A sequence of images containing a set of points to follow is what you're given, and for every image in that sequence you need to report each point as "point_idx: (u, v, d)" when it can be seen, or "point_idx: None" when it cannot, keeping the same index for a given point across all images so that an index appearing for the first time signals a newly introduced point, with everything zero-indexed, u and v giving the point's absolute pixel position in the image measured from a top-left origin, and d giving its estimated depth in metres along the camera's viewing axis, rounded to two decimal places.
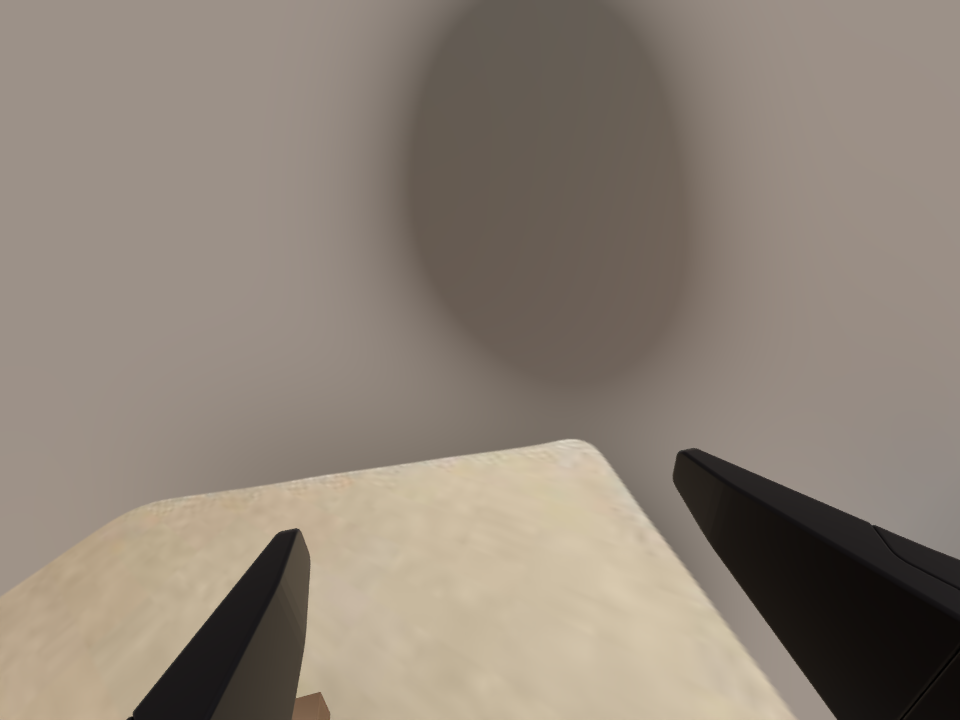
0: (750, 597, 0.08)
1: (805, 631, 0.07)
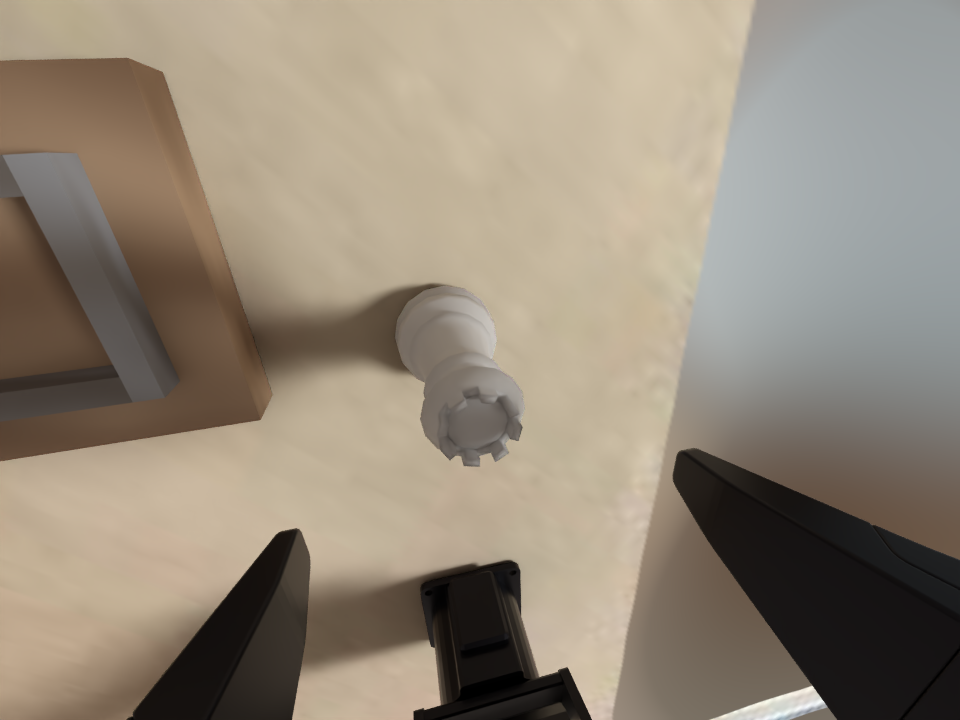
0: (750, 597, 0.08)
1: (805, 631, 0.07)
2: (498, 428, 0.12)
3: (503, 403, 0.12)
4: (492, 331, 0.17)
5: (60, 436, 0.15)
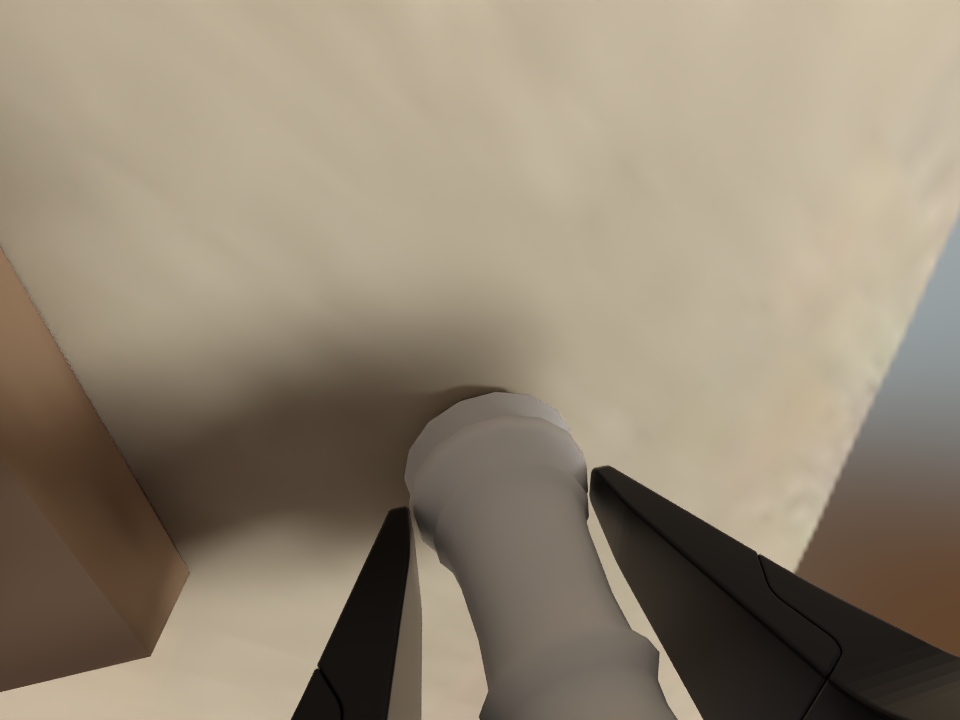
0: (651, 624, 0.08)
1: (695, 664, 0.07)
2: None
3: None
4: (585, 477, 0.09)
5: None
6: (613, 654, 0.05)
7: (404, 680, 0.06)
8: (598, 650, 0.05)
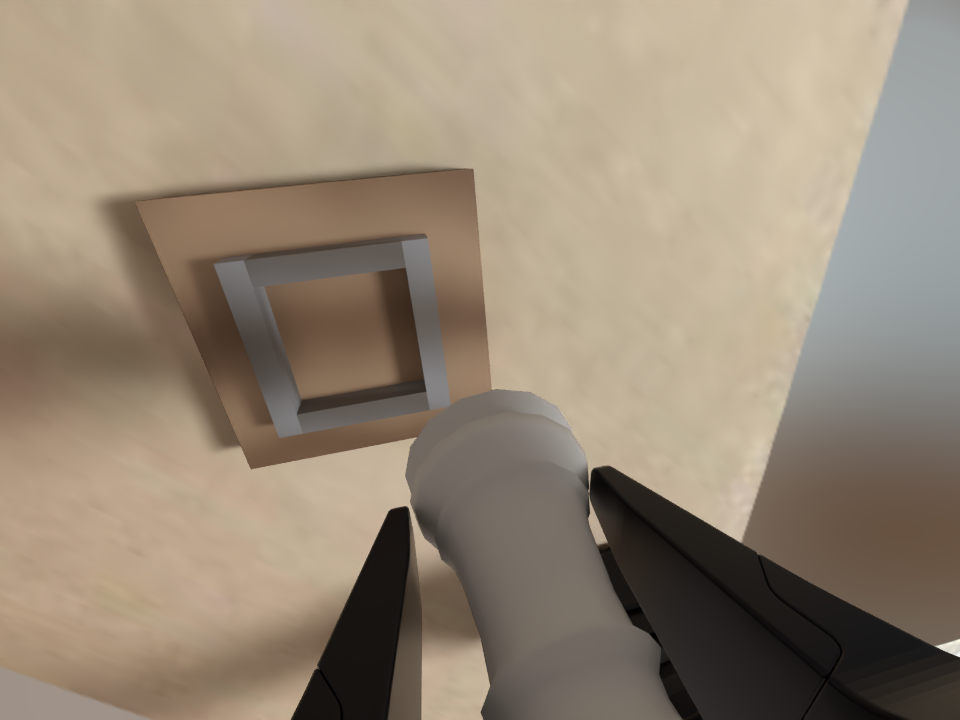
0: (651, 624, 0.08)
1: (695, 664, 0.07)
2: None
3: None
4: (585, 475, 0.09)
5: (358, 437, 0.20)
6: (615, 649, 0.05)
7: (404, 680, 0.06)
8: (600, 645, 0.05)
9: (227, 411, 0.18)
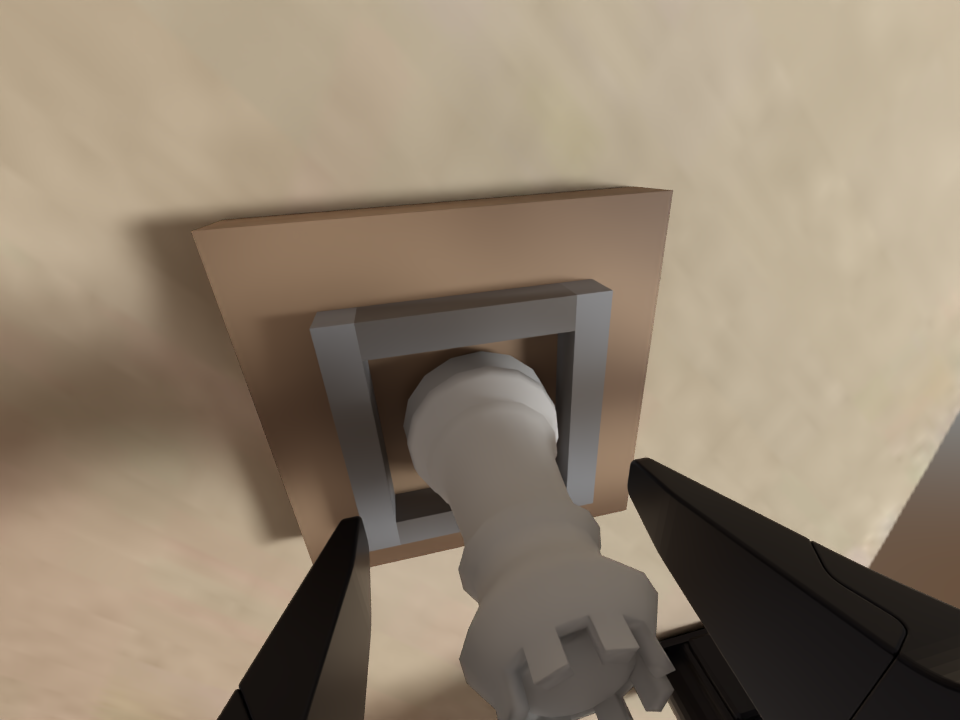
0: (696, 612, 0.08)
1: (745, 649, 0.07)
2: (618, 683, 0.06)
3: (639, 646, 0.06)
4: (554, 423, 0.11)
5: (459, 534, 0.15)
6: (559, 514, 0.07)
7: (333, 699, 0.06)
8: (548, 510, 0.07)
9: (295, 511, 0.13)
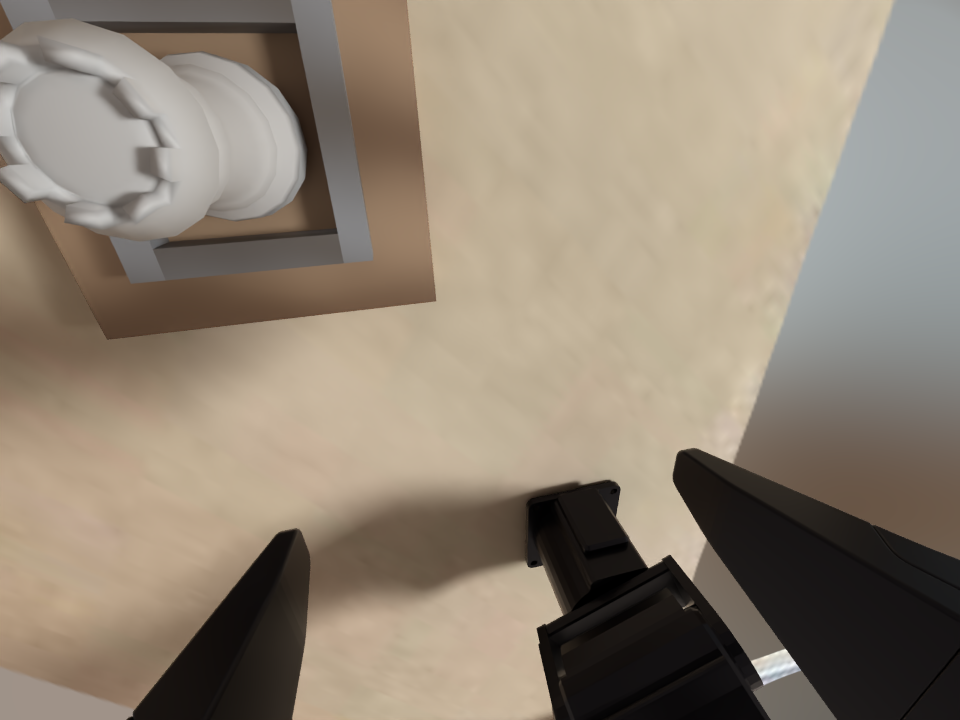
0: (750, 597, 0.08)
1: (805, 631, 0.07)
2: (134, 158, 0.06)
3: (123, 91, 0.06)
4: (283, 126, 0.11)
5: (255, 305, 0.15)
6: None
7: None
8: None
9: (61, 247, 0.13)
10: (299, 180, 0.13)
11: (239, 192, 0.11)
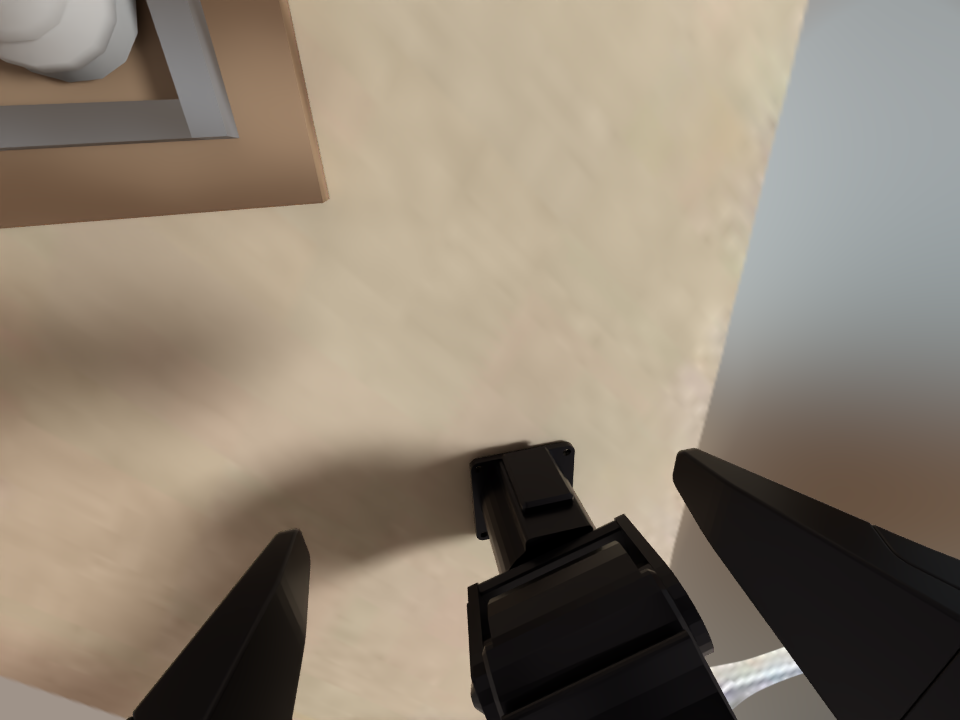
0: (750, 597, 0.08)
1: (805, 631, 0.07)
2: None
3: None
4: None
5: (106, 198, 0.13)
6: None
7: None
8: None
9: None
10: (129, 34, 0.11)
11: (7, 2, 0.09)
